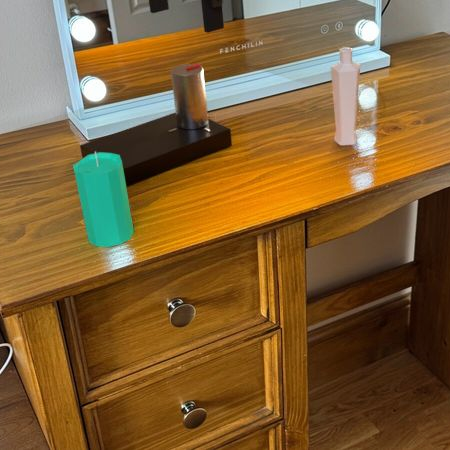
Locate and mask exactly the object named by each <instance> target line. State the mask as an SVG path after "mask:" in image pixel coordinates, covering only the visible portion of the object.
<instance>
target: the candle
mask: <svg viewBox="0 0 450 450" xmlns="http://www.w3.org/2000/svg"><path fill="white" fill-rule="evenodd" d="M72 167H73V173H74V177H75V182H76V183H75V184H76V188H77V192H78V197H79V202H80V207H81V211H82V216H83V223H84V226H85V230H86V237H87V240H88V243H89V244H91V245H93V246H95V247H100V248H101V247H102V248H110V247H115V246H121V245H123V244H124V243H125V242H128V241H129V240H130V239H131V238H132V237H133V235H134V234H135V230H134V225H133V224H134V223H133V218H132V215H131V214H132V212H131V208H130V207H131V206H130V201H129V195H128V189H127V188H128V187H126V182H125V177H124V171H123V165H122V160H121V158H120V155H118V154H113V153H104V152H99V153H96V152H95V153H94V154H90V155H87V156H86V157H84V158H83V159H82V158H81V159H80V160H79V161H77V162H76V163H74V164H72Z"/></svg>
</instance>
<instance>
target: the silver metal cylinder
mask: <svg viewBox="0 0 450 450" xmlns="http://www.w3.org/2000/svg"><path fill="white" fill-rule="evenodd" d="M170 78H171V85H172V93H173V99H174V100H173V102H174V109H175V112H176V118H177V125H178V127H180V128H182V129H199V128H202V127H204V126H206V125H207V124H208V119H209V118H208V117H209V114H208V113H209V111H208V104H207V94H206V85H205V75H204V68H203V66H202V65H201V63H199V62H198V63H194V64H192V63H188V64H187V63H185V64H180V65H176V66H174V67H172V68H171V69H170Z"/></svg>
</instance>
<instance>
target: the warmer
mask: <svg viewBox="0 0 450 450" xmlns="http://www.w3.org/2000/svg"><path fill="white" fill-rule="evenodd" d="M214 117H217V114H216V113H215V114H211V115H208V124H207V125H206V126H204V127H202V128H199V129H182V128H180V127H178V125H177V118H176V111H175V112H172V113H169V114H166V115H164V116H161V117H157V118H155V119H152V120H149V121H146V122H143V123H140V124H138V125H134V126H132V127H128V128H125V129H123V130H120V131H117V132H114V133H111V134H108V135H106V136H103V137H100V138H97V139H94V140H91V141H89V142H86V143H85V142H84V143H82V144H80V145H79V149H80V153H81V160H82V159H83V158H84V157H86V156H87V155H90V154H94V153H95V152H96V153H99V152H104V153H113V154H118V155H120V158H121V160H122V165H123V171H124V177H125V182H126V188H128V187H130V186H133V185H136V184H138V183H141V182H143V181H147V180H148V179H151V178H153V177H156V176H159V175H161V174H164V173H166V172H168V171H171V170H174V169H176V168H179V167H181V166H184V165H187V164H189V163H191V162H194V161H197V160H199V159H202V158H204V157H207V156H209V155H211V154H215V153H217V152H220V151H222V150H224V149H228V148H230V147H232V146H233V144H232V143H233V142H232V141H233V140H232V132H231V131H232V130H231V128H230V127H228V126H225V125H223V124H221V123H220V122H217V121H215V120H212V118H214Z"/></svg>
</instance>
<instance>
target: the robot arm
mask: <svg viewBox="0 0 450 450" xmlns="http://www.w3.org/2000/svg"><path fill="white" fill-rule="evenodd" d="M200 3H201V11H202V12H201V13H202V22H203V30H204V33H206V34H207V33H212V32H215V31H219V30H222V29H225V26H224V25H225V24H224V14H223V3H224V1H223V0H200ZM148 4H149V12H150V13H151V14H156V13H160V12H164V11H168V10H170V6H169V0H148Z"/></svg>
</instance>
